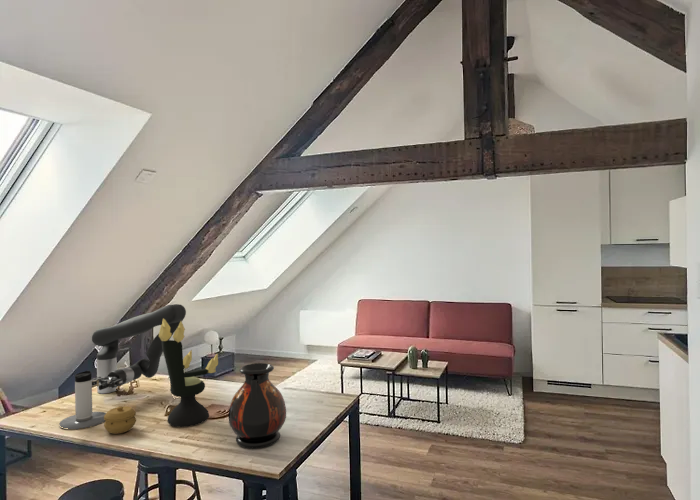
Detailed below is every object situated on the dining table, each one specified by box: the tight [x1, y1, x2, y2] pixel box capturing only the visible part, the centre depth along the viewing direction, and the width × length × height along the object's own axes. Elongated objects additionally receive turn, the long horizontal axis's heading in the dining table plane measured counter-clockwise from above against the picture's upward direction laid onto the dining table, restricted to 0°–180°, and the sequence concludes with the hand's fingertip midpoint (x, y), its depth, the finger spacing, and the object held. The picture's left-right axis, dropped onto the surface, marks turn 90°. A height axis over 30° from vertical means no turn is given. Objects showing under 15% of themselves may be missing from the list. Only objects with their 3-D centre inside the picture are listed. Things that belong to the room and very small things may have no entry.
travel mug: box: [74, 370, 93, 422], centre depth 197 cm, size 6×7×20 cm
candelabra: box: [158, 318, 219, 428], centre depth 193 cm, size 19×22×45 cm
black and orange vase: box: [227, 362, 287, 450], centre depth 174 cm, size 22×22×28 cm
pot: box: [103, 405, 137, 435], centre depth 186 cm, size 12×12×10 cm
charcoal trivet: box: [59, 411, 107, 430], centre depth 197 cm, size 18×18×1 cm
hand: (91, 386), depth 202 cm, fingers open, 8 cm apart
